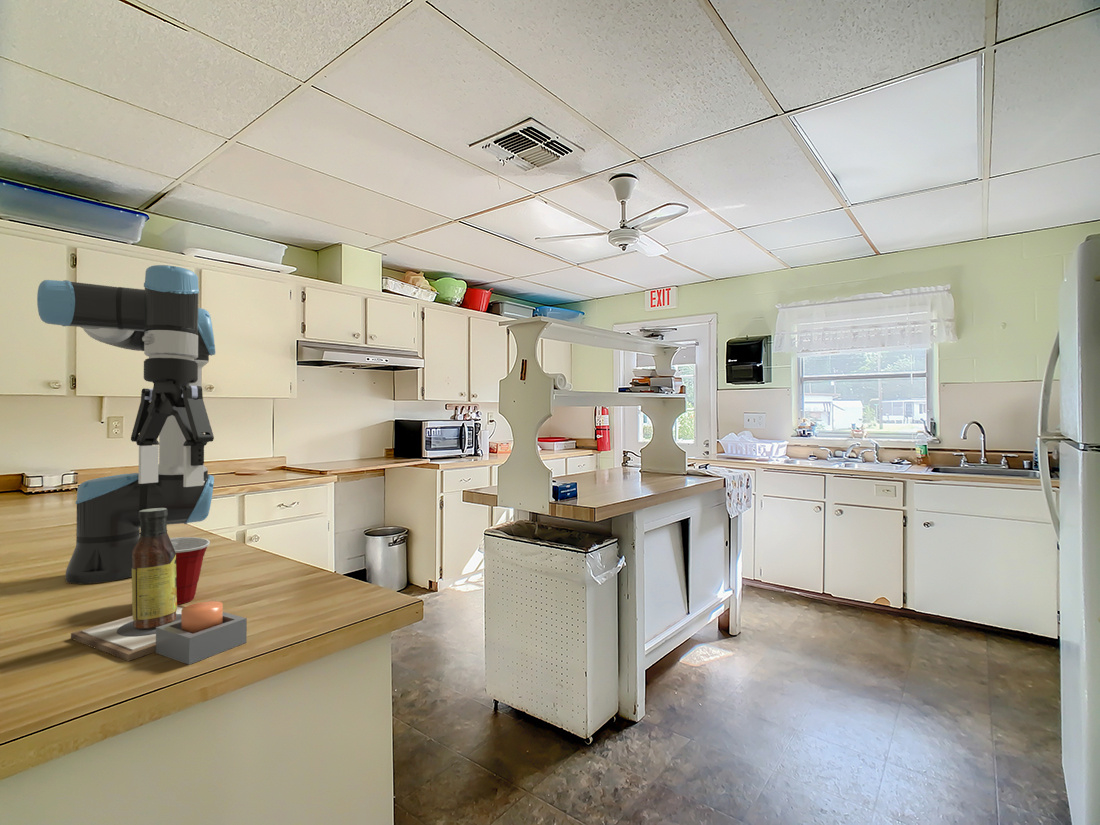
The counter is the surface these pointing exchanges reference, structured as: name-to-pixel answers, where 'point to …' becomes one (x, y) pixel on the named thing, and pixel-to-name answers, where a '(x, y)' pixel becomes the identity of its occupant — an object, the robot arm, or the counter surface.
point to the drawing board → (121, 637)
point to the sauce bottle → (153, 572)
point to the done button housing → (200, 639)
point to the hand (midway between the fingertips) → (170, 484)
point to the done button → (201, 616)
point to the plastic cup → (188, 565)
